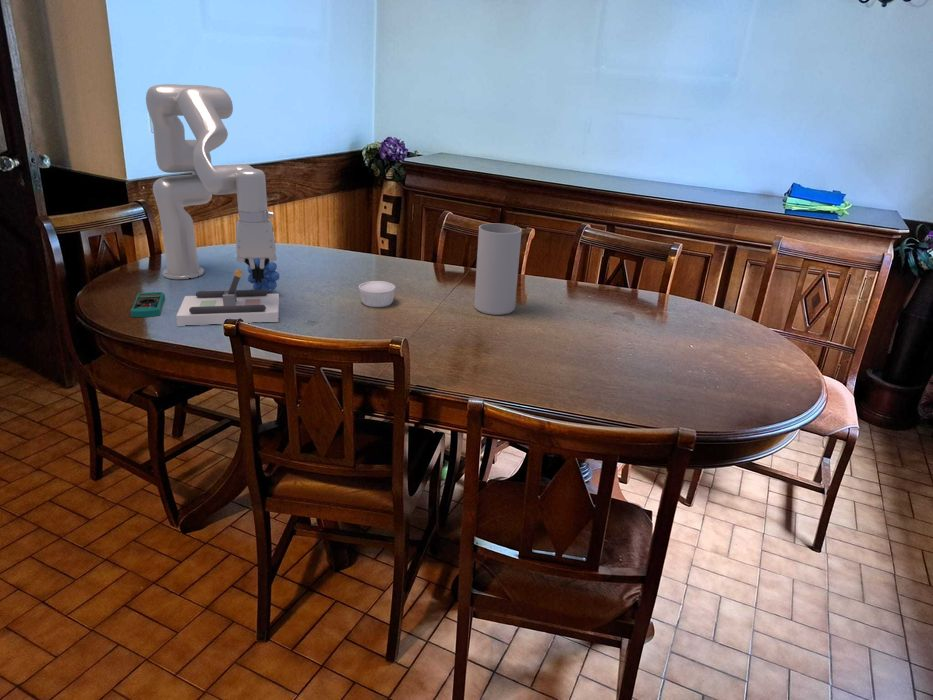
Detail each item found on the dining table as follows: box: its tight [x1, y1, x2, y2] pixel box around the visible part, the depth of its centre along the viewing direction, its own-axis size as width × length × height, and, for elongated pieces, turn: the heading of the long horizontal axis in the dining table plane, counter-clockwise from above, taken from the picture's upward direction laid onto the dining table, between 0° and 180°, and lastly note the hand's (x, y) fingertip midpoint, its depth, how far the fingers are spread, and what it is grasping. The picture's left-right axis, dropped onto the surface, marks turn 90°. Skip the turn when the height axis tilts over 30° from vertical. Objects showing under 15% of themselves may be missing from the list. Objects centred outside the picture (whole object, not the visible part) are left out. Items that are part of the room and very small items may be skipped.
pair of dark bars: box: [189, 289, 269, 314], centre depth 183 cm, size 15×20×2 cm
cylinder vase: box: [473, 222, 523, 316], centre depth 195 cm, size 12×12×25 cm
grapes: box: [247, 258, 280, 293], centre depth 200 cm, size 12×7×12 cm, turn 68°
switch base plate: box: [176, 288, 280, 327], centre depth 183 cm, size 16×26×6 cm, turn 104°
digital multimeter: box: [130, 291, 166, 318], centre depth 185 cm, size 7×15×3 cm, turn 18°
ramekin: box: [358, 280, 396, 308], centre depth 199 cm, size 11×11×5 cm
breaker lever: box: [226, 268, 244, 296], centre depth 181 cm, size 3×2×10 cm
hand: (258, 281), depth 183 cm, fingers closed
